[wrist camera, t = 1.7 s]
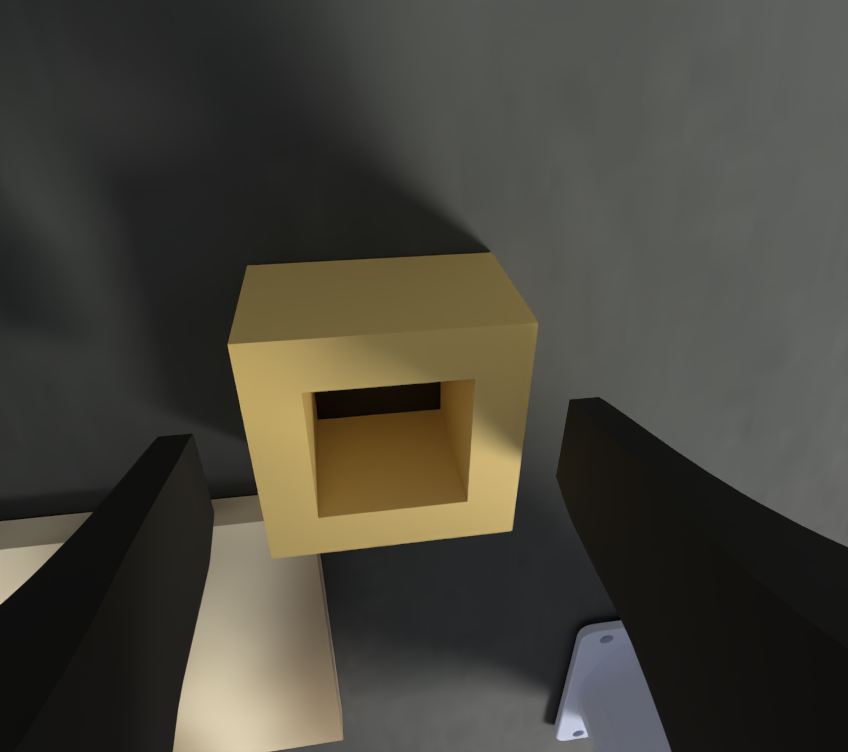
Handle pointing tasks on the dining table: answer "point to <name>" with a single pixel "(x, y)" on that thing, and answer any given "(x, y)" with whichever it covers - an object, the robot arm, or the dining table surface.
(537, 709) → the dining table surface
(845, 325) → the dining table surface
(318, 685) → the peg board
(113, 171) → the dining table surface
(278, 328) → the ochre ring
